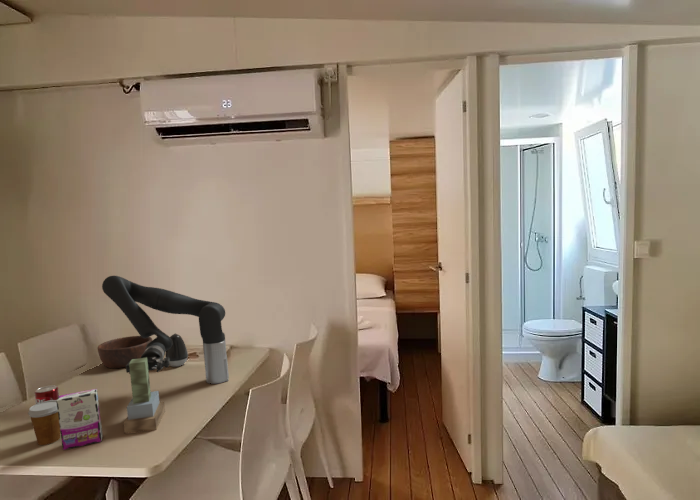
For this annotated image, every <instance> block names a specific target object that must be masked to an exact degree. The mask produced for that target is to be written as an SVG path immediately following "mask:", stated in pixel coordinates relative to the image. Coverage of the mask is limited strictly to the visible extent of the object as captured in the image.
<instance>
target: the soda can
mask: <svg viewBox="0 0 700 500" xmlns="http://www.w3.org/2000/svg"><path fill="white" fill-rule="evenodd" d="M59 396H60V392H59V387H58V386H57V385H54V384H53V385H51V384H50V385H45V386H42V387H40V388H37V389H36V390H35V391H34V400H35V404H38V403H41V402H45V401H50V400H57V399H58V397H59Z"/></svg>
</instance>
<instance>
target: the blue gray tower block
mask: <svg viewBox="0 0 700 500" xmlns="http://www.w3.org/2000/svg"><path fill="white" fill-rule="evenodd" d="M160 402H161V401H160V395H159V390H155V391H151V397H150V400H149V401H148V402H142V403H135V404H133V397H132V398H131V399H130V401H129V403H128V405H127V406H126V411H127V413H126V414H127V417H128V420H131V419H139V418H146V417H153V416H154V414H155V412H156V410H157V407H158V405H159V403H160Z"/></svg>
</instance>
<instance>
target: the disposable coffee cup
mask: <svg viewBox="0 0 700 500" xmlns="http://www.w3.org/2000/svg"><path fill="white" fill-rule="evenodd" d="M56 401H57V400H50V401H45V402H41V403H38V404H36V403H35V404H34V405H32V406H30V407H29V408H28V412H27V415H28V416H29V418H30V421H31V424H32V427H33V431H34V435H35V439H36V443H37V444H38V445H39V446H46V445H51V444H54V443H56V442H58V441H59V440H60V439H61V432H60V425H59V417H58V409H57V402H56Z"/></svg>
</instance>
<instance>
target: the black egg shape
mask: <svg viewBox="0 0 700 500" xmlns="http://www.w3.org/2000/svg"><path fill="white" fill-rule="evenodd" d="M169 337H170V338H171V339H172V342H173V345H172V347H171V348H170V349H168V350H167V351H166V352H165V355H164V356H165V357H167V356H168V357H169V366H170V367H172V368H177V367H181V365H182V366H184V365H185V364H184V363H185V362H186V363H187V361H188V357H189V353H188V349H187V346H186V343H185V341H184V339H183V337H182V336H181V335H179V334H177V333H174V334H171V335H170V336H169ZM165 357H164V358H165Z"/></svg>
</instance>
